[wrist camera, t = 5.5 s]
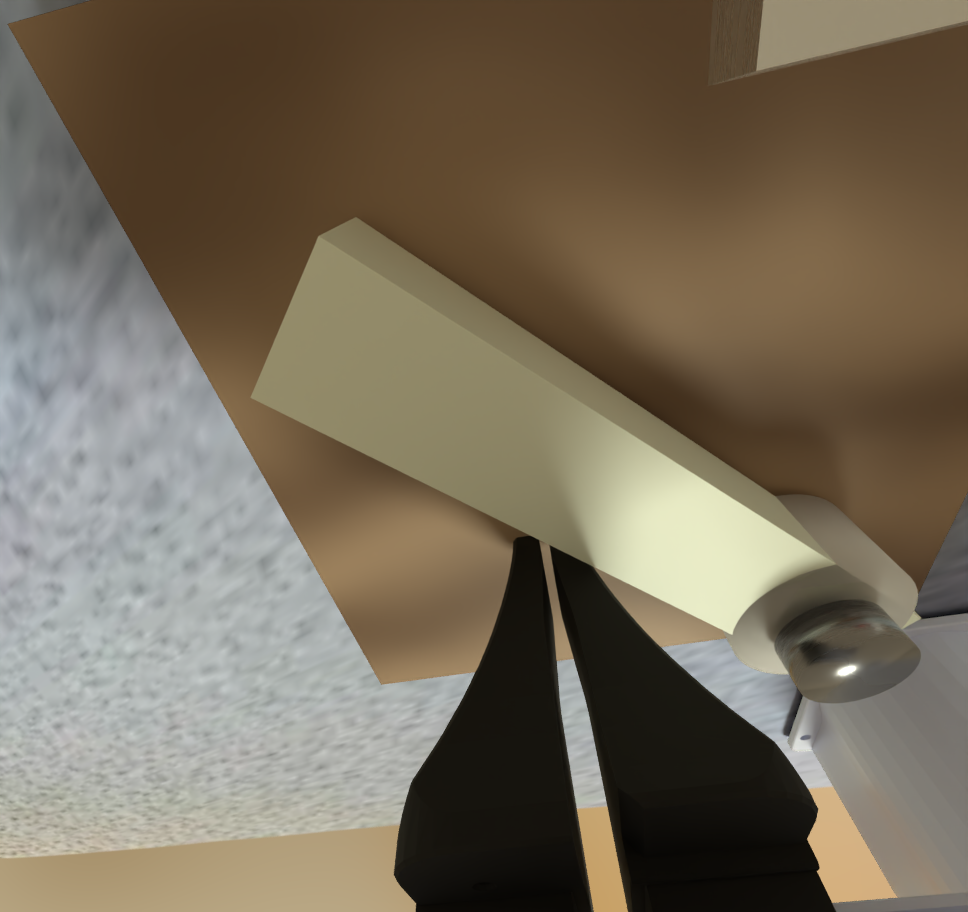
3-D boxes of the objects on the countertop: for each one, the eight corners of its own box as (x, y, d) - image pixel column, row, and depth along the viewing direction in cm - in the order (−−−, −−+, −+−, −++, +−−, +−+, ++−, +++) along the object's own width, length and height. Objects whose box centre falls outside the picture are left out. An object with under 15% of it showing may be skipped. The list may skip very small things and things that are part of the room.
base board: (876, 580, 17) (908, 613, 16) (387, 649, 19) (381, 684, 17) (1218, -271, 7) (1386, -368, 6) (76, 44, 8) (6, 24, 7)
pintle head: (870, 658, 12) (901, 695, 11) (767, 671, 12) (789, 709, 11) (900, 592, 10) (938, 629, 10) (783, 608, 11) (810, 646, 10)
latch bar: (878, 535, 13) (953, 605, 11) (755, 618, 15) (800, 691, 13) (372, 180, 8) (339, 188, 6) (285, 372, 10) (237, 427, 8)
